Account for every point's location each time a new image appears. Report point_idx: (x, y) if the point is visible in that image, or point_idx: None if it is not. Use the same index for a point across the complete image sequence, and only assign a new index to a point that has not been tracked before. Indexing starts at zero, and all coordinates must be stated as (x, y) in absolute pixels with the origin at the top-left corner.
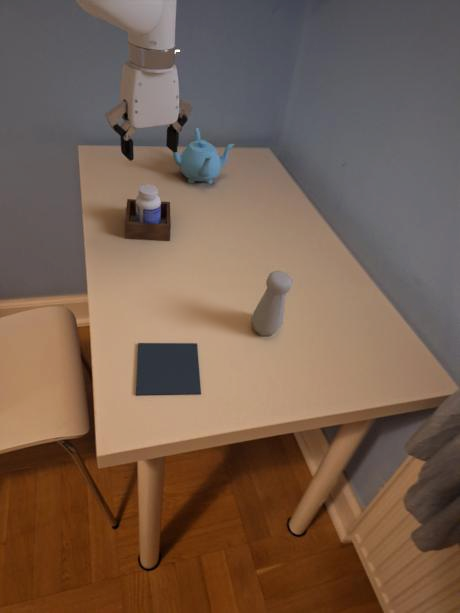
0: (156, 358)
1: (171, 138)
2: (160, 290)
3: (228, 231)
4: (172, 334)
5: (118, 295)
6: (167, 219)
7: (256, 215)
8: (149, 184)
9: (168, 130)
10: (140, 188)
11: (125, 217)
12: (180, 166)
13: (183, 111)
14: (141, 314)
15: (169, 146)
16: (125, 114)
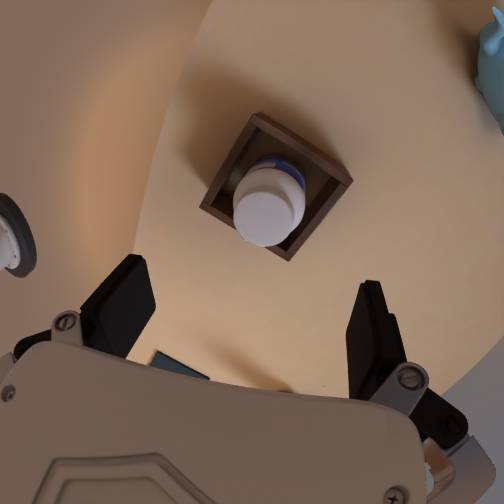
0: (167, 369)
1: (356, 358)
2: (209, 318)
3: (411, 273)
4: (193, 361)
5: (156, 296)
6: (297, 239)
7: (485, 262)
8: (281, 199)
9: (368, 361)
10: (241, 206)
11: (209, 188)
12: (483, 54)
13: (440, 474)
14: (172, 330)
15: (356, 310)
16: (45, 355)
